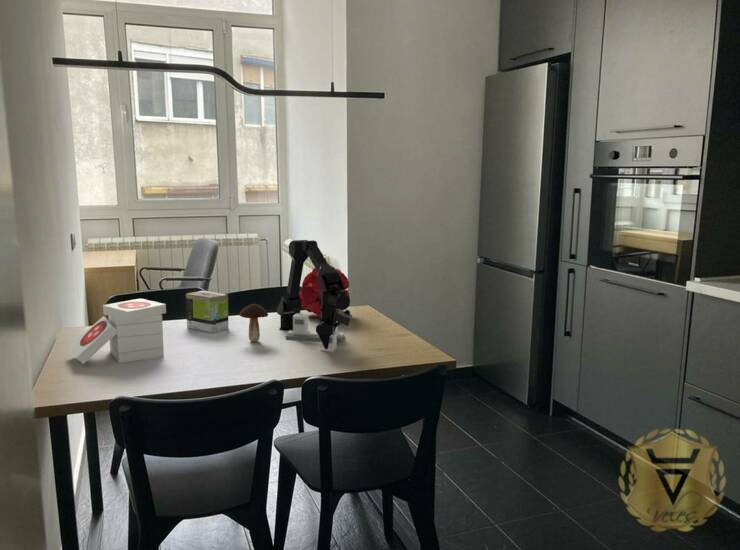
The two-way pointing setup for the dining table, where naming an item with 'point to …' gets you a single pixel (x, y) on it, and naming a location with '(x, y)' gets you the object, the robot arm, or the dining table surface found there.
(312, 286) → the bouquet
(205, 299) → the tea box
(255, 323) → the decorative mushroom
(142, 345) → the pizza boxes
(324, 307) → the robot arm
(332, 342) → the block
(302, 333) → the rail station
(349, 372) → the dining table surface
